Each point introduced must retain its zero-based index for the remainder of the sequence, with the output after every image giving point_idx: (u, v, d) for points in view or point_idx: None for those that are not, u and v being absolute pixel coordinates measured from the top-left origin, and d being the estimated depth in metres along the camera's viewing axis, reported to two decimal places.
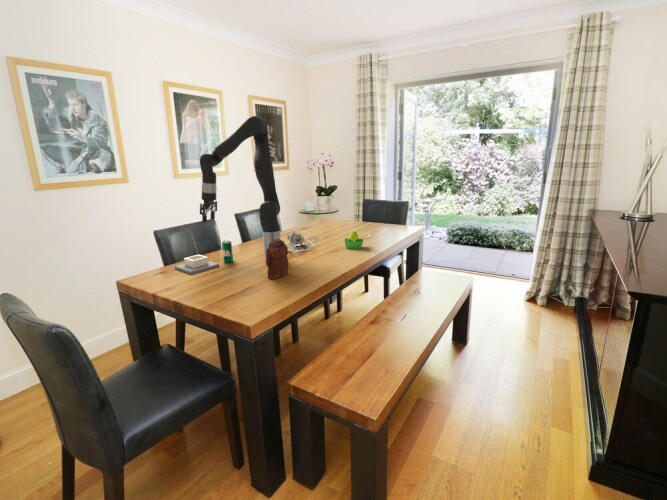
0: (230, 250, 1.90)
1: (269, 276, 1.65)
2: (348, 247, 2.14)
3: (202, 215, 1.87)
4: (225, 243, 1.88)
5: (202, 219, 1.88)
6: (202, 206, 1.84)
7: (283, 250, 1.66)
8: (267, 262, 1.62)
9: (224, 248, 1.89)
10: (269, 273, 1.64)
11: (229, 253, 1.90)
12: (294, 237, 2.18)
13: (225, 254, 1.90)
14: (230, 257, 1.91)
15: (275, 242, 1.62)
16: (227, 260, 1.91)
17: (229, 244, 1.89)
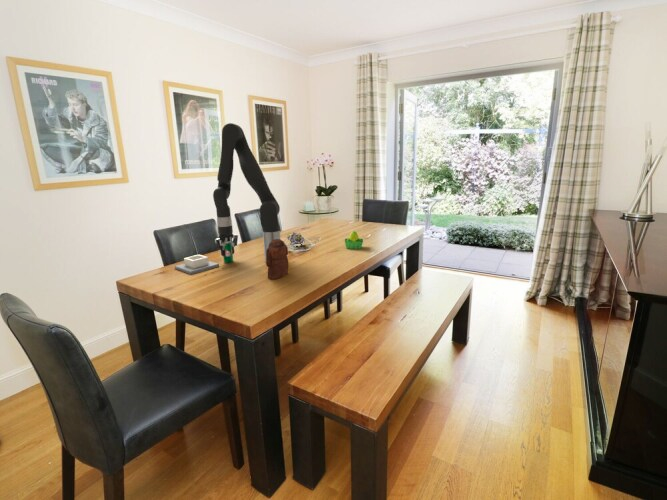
0: (230, 250, 1.90)
1: (269, 276, 1.65)
2: (348, 247, 2.14)
3: None
4: None
5: (221, 253, 1.90)
6: (216, 242, 1.85)
7: (283, 250, 1.66)
8: (267, 262, 1.62)
9: None
10: (269, 273, 1.64)
11: (229, 253, 1.90)
12: (294, 237, 2.18)
13: (225, 254, 1.90)
14: (230, 257, 1.91)
15: (275, 242, 1.62)
16: (227, 260, 1.91)
17: (229, 244, 1.89)
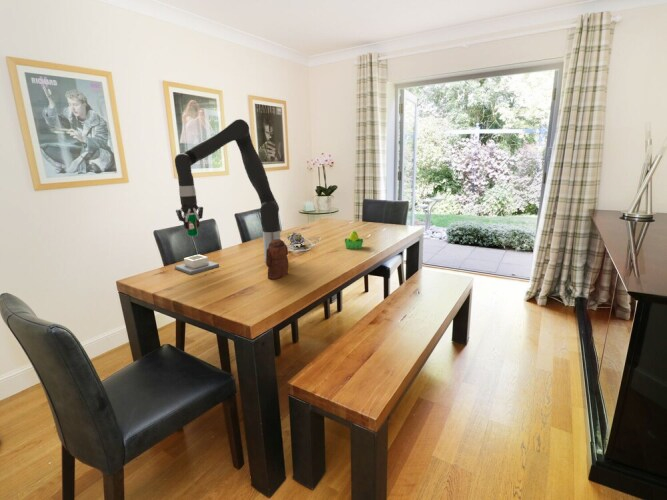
0: (194, 222, 1.77)
1: (269, 276, 1.65)
2: (348, 247, 2.14)
3: None
4: None
5: (184, 226, 1.76)
6: (178, 213, 1.72)
7: (283, 250, 1.66)
8: (267, 262, 1.62)
9: None
10: (269, 273, 1.64)
11: (193, 226, 1.77)
12: (294, 237, 2.18)
13: (189, 226, 1.76)
14: (194, 230, 1.78)
15: (275, 242, 1.62)
16: (191, 233, 1.77)
17: (193, 216, 1.76)
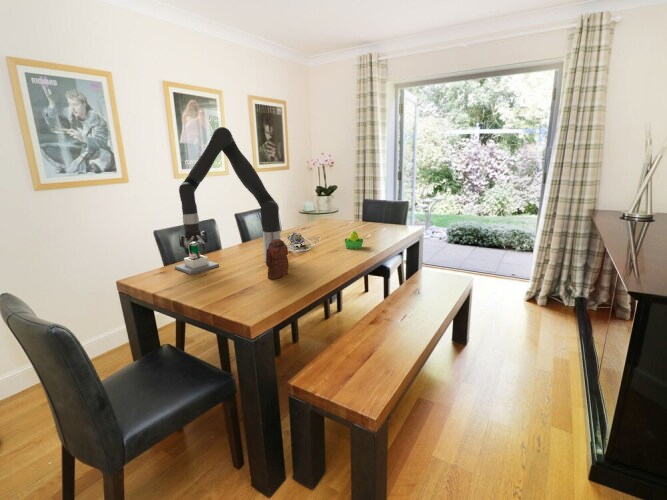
0: (197, 253, 1.81)
1: (269, 276, 1.65)
2: (348, 247, 2.14)
3: (184, 247, 1.78)
4: (191, 245, 1.79)
5: None
6: (180, 238, 1.75)
7: (283, 250, 1.66)
8: (267, 262, 1.62)
9: (190, 251, 1.80)
10: (269, 273, 1.64)
11: (196, 256, 1.81)
12: (294, 237, 2.18)
13: (192, 257, 1.80)
14: None
15: (275, 242, 1.62)
16: None
17: (196, 246, 1.80)
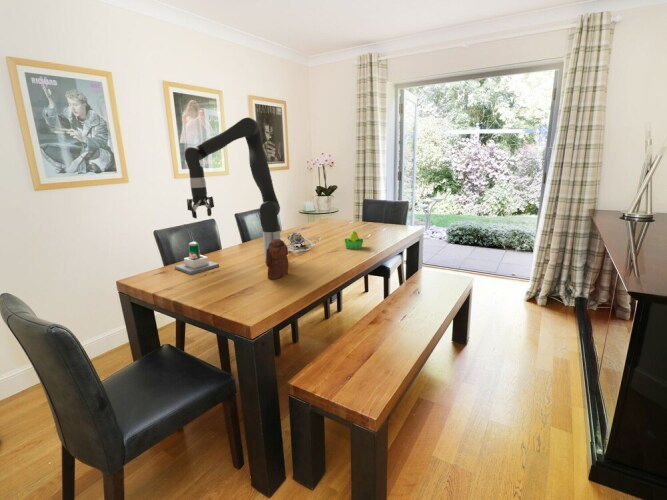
0: (197, 253, 1.81)
1: (269, 276, 1.65)
2: (348, 247, 2.14)
3: None
4: (191, 245, 1.79)
5: (192, 215, 1.83)
6: (188, 201, 1.80)
7: (283, 250, 1.66)
8: (267, 262, 1.62)
9: (190, 251, 1.80)
10: (269, 273, 1.64)
11: (196, 256, 1.81)
12: (294, 237, 2.18)
13: (192, 257, 1.80)
14: None
15: (275, 242, 1.62)
16: None
17: (196, 246, 1.80)
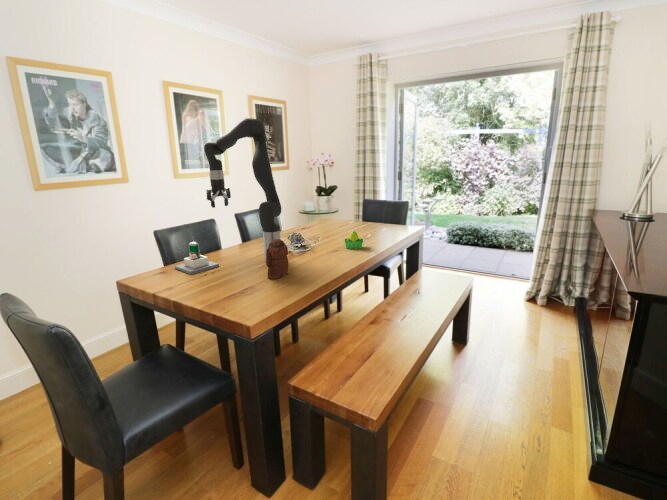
0: (197, 253, 1.81)
1: (269, 276, 1.65)
2: (348, 247, 2.14)
3: None
4: (191, 245, 1.79)
5: (211, 205, 2.01)
6: (208, 192, 1.97)
7: (283, 250, 1.66)
8: (267, 262, 1.62)
9: (190, 251, 1.80)
10: (269, 273, 1.64)
11: (196, 256, 1.81)
12: (294, 237, 2.18)
13: (192, 257, 1.80)
14: None
15: (275, 242, 1.62)
16: None
17: (196, 246, 1.80)
